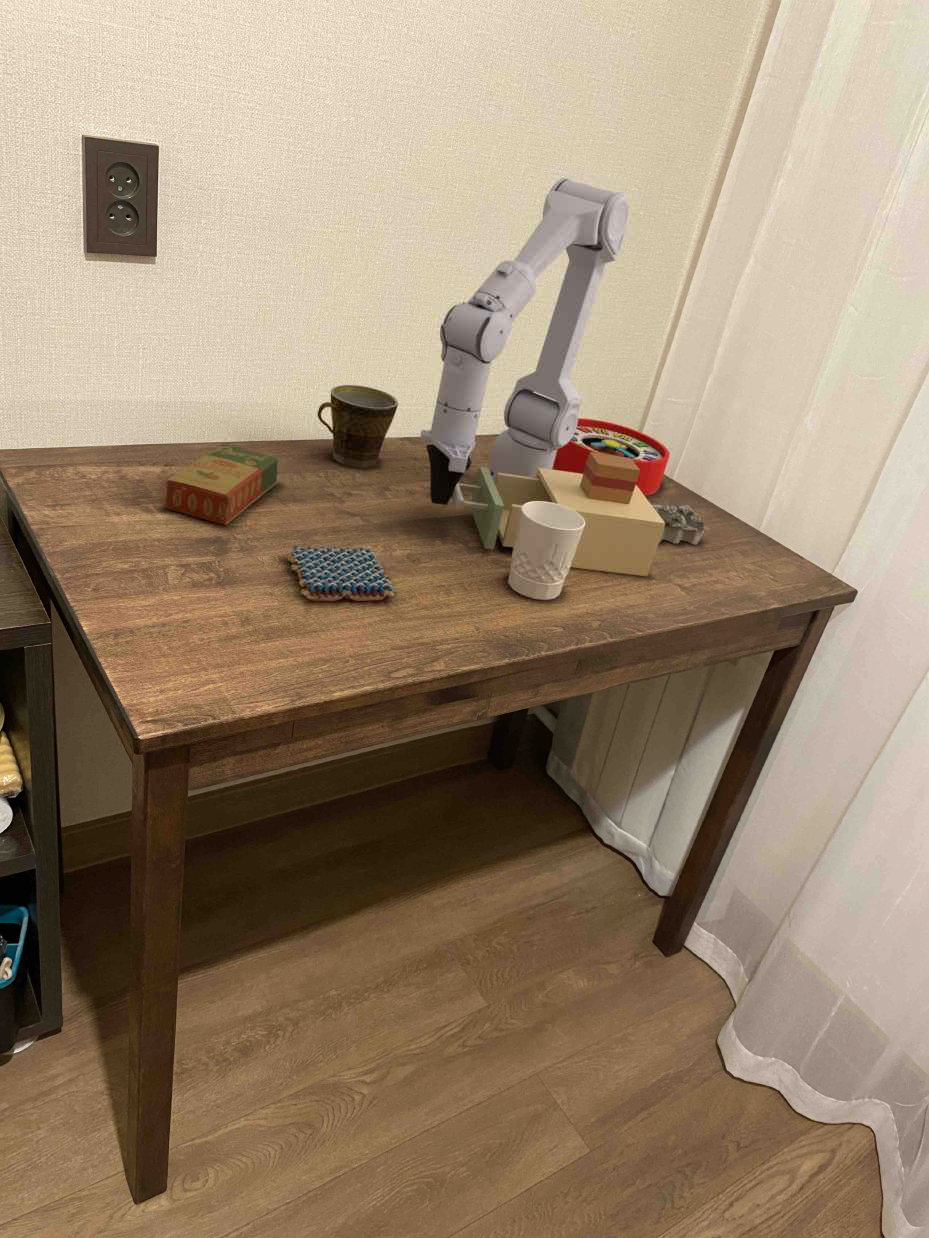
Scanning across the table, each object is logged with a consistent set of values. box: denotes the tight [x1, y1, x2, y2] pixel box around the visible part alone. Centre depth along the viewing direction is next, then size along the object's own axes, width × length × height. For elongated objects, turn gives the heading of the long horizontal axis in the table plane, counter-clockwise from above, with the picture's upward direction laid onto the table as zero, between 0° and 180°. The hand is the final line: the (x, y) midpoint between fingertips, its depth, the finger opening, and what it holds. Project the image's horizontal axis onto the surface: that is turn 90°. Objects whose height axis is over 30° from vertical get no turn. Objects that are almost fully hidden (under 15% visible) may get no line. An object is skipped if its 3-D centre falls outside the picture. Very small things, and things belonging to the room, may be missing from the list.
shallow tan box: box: [535, 468, 665, 577], centre depth 127 cm, size 15×14×8 cm
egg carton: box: [651, 503, 710, 545], centre depth 138 cm, size 11×8×4 cm
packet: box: [580, 452, 640, 504], centre depth 123 cm, size 6×4×5 cm
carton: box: [164, 443, 279, 526], centre depth 117 cm, size 8×16×4 cm, turn 168°
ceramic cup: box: [317, 384, 399, 469], centre depth 136 cm, size 13×10×10 cm
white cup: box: [507, 501, 585, 601], centre depth 112 cm, size 8×8×10 cm
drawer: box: [451, 466, 553, 550], centre depth 124 cm, size 18×13×6 cm
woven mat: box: [287, 545, 395, 602], centre depth 105 cm, size 10×11×2 cm
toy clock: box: [552, 417, 671, 496], centre depth 157 cm, size 20×6×20 cm
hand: (438, 502), depth 122 cm, fingers closed, pressing on drawer
